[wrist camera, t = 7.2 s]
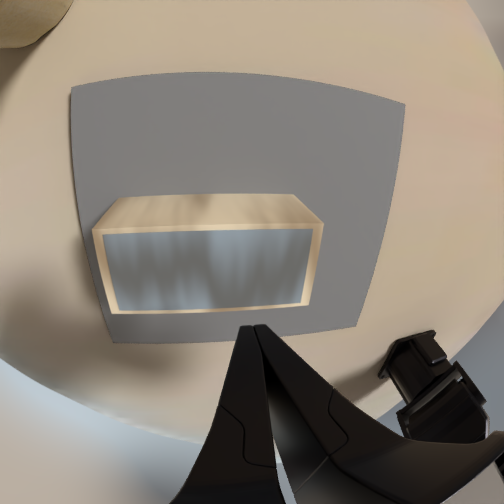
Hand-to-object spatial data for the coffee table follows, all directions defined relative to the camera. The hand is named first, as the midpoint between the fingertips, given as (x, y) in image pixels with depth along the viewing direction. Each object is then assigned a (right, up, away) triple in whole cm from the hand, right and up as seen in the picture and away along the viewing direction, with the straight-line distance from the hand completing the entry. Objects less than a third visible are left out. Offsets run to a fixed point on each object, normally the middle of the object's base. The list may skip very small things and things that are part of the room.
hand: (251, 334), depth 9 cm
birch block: (+3, +3, +6) cm, 7 cm away
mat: (0, +4, +8) cm, 9 cm away
